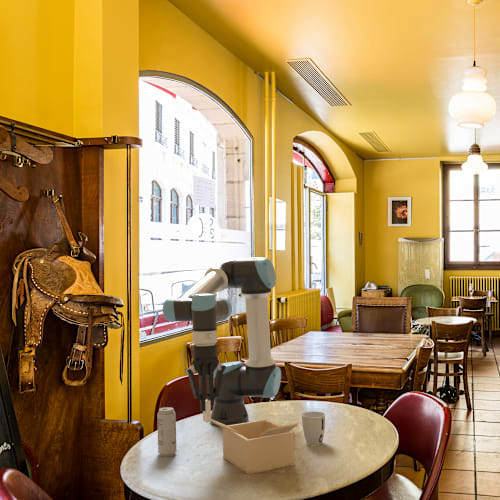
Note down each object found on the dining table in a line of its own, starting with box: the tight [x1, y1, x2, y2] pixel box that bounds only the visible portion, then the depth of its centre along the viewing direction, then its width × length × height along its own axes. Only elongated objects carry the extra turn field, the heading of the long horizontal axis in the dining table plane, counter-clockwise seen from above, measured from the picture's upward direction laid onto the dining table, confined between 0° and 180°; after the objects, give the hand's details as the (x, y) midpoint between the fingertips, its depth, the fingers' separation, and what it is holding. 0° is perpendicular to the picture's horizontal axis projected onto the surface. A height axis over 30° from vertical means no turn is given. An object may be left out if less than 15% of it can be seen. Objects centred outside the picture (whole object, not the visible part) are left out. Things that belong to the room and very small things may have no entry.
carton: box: [221, 419, 295, 475], centre depth 190 cm, size 19×17×10 cm
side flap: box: [211, 419, 239, 434], centre depth 186 cm, size 7×10×1 cm
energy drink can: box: [156, 406, 177, 458], centre depth 198 cm, size 6×6×15 cm
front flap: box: [259, 423, 299, 437], centre depth 179 cm, size 7×10×1 cm
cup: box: [301, 410, 326, 446], centre depth 206 cm, size 8×8×10 cm
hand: (207, 421), depth 184 cm, fingers closed
